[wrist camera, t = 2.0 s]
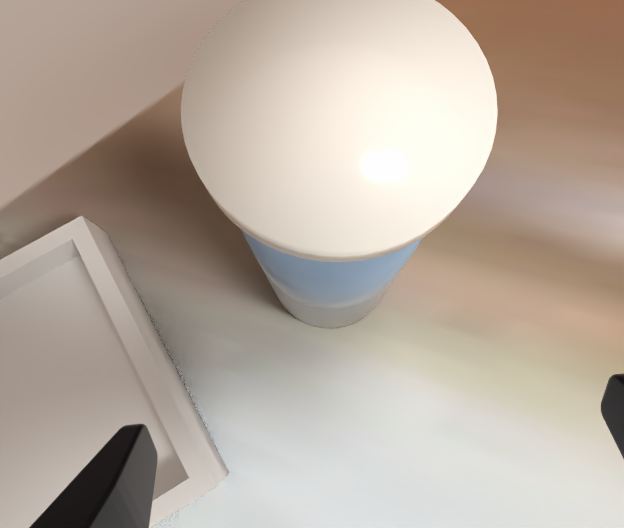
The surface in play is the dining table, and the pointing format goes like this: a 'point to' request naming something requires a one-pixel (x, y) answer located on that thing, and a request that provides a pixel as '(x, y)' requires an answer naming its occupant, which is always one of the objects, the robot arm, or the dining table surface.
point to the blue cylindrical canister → (337, 139)
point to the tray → (87, 378)
